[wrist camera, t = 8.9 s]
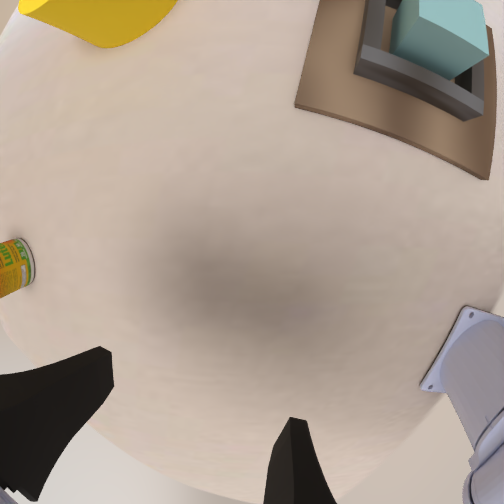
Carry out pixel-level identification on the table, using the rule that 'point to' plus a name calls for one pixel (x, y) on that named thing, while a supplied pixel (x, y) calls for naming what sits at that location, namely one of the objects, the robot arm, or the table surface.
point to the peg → (440, 35)
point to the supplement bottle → (15, 266)
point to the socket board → (397, 86)
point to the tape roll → (99, 18)
